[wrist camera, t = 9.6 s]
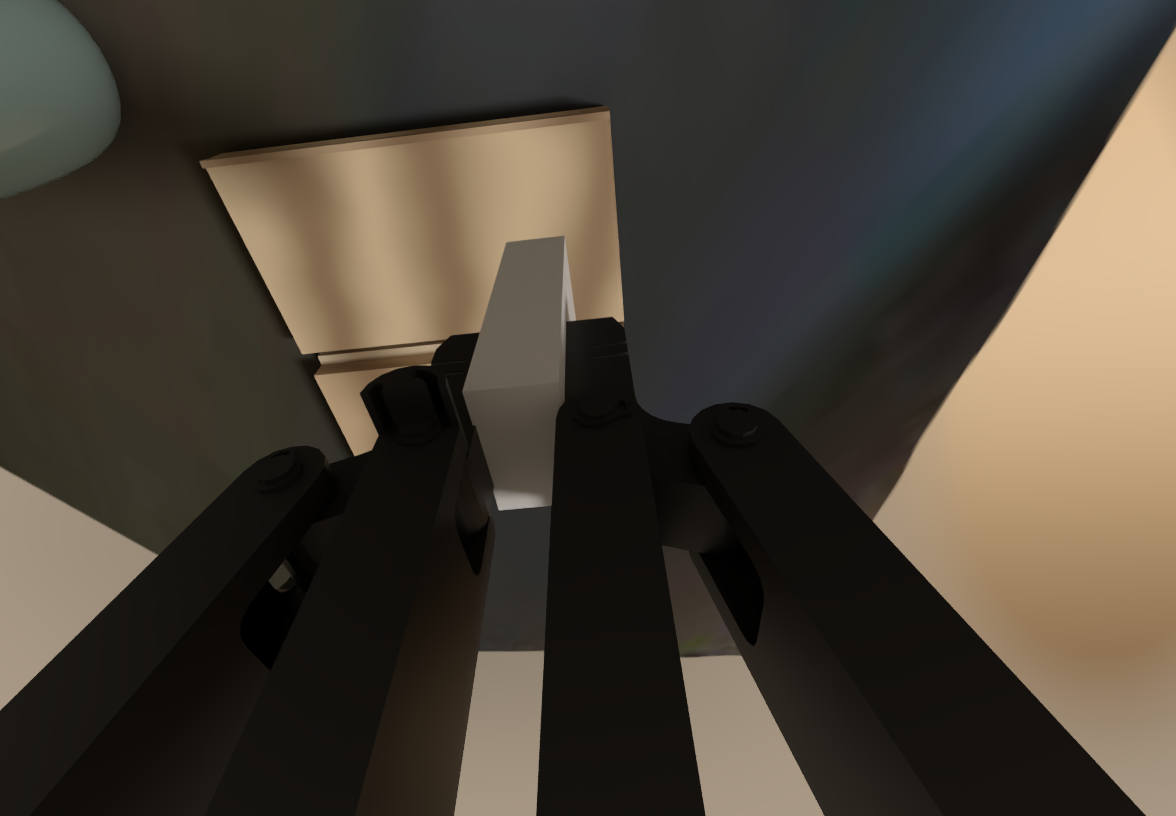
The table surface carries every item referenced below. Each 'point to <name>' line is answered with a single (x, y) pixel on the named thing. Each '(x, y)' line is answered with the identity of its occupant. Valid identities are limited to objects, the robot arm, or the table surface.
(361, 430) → the laid board
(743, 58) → the table surface
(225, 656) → the robot arm
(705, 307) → the table surface
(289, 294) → the loose plank
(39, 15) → the cup
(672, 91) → the table surface
